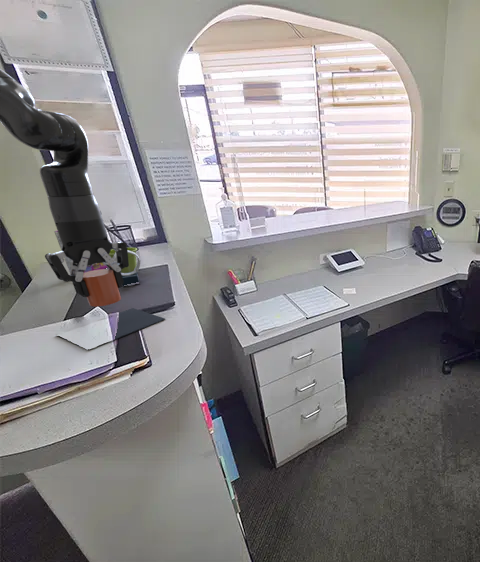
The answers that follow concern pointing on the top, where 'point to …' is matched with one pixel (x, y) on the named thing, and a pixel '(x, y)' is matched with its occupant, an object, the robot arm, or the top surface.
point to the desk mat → (135, 321)
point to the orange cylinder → (101, 287)
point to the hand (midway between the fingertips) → (102, 291)
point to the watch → (130, 276)
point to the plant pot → (130, 258)
